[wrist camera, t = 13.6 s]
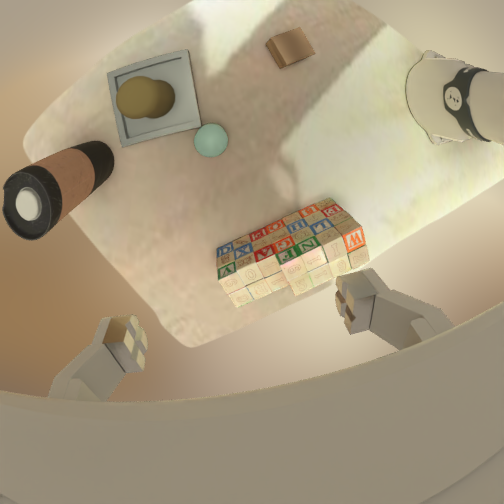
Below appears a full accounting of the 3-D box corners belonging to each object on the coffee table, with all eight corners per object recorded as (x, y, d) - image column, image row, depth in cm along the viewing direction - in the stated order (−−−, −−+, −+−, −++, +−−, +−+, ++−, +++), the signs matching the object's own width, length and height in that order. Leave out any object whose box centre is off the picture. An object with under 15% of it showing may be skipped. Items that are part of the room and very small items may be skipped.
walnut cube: (291, 34, 32) (300, 27, 28) (305, 58, 34) (315, 53, 30) (265, 44, 32) (271, 37, 28) (279, 68, 35) (287, 64, 31)
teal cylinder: (220, 118, 38) (221, 120, 33) (229, 145, 40) (232, 151, 35) (192, 128, 38) (189, 131, 33) (201, 155, 40) (200, 161, 36)
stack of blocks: (232, 275, 51) (237, 321, 41) (215, 248, 48) (216, 292, 37) (339, 226, 49) (371, 261, 38) (330, 196, 46) (363, 226, 35)
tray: (188, 51, 32) (187, 49, 30) (201, 125, 38) (201, 126, 36) (111, 74, 31) (106, 73, 30) (126, 145, 37) (122, 147, 36)
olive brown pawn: (148, 73, 32) (125, 63, 22) (183, 90, 34) (171, 84, 24) (128, 108, 34) (99, 110, 24) (161, 125, 36) (143, 132, 27)
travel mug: (123, 171, 39) (65, 222, 22) (88, 193, 40) (23, 252, 23) (103, 130, 35) (29, 155, 18) (68, 154, 36) (-9, 195, 19)
